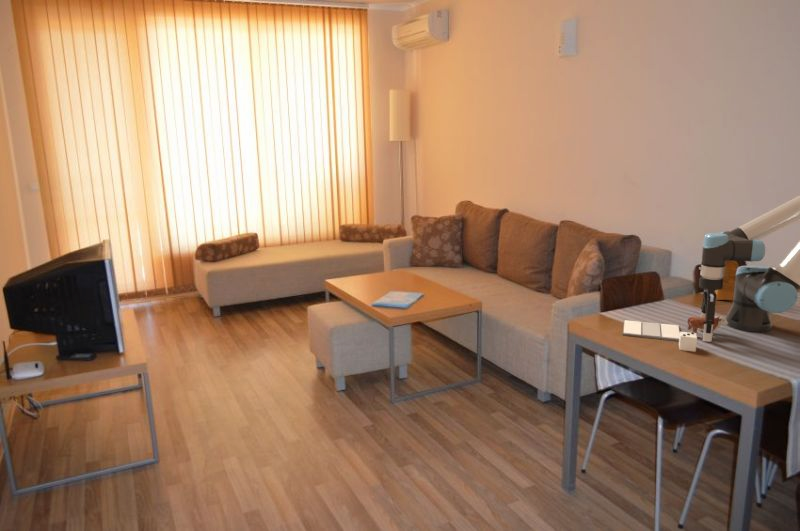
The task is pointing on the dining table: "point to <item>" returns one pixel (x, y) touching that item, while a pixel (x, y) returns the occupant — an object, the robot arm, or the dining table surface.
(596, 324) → the dining table surface
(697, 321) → the bull figurine
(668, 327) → the game board
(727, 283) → the coffee package
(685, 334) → the white block with holes
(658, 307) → the dining table surface
